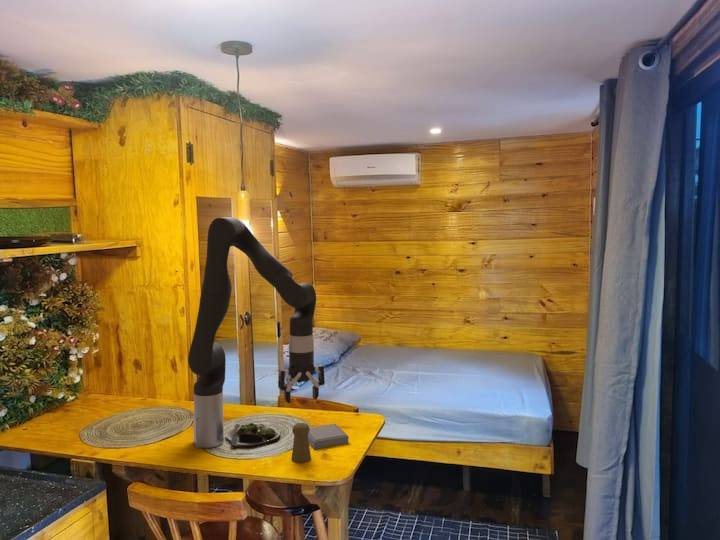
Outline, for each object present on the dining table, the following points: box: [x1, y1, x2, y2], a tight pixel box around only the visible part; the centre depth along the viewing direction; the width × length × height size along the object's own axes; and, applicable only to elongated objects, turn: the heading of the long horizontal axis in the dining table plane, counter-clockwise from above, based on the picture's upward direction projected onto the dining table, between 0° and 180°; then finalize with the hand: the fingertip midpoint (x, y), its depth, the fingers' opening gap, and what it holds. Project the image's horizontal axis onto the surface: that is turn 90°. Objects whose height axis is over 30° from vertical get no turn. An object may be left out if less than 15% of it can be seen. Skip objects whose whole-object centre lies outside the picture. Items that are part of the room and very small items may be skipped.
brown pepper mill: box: [291, 422, 312, 464], centre depth 168 cm, size 6×6×11 cm
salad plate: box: [225, 422, 281, 449], centre depth 186 cm, size 19×18×5 cm
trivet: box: [308, 423, 349, 450], centre depth 183 cm, size 12×12×3 cm
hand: (301, 400), depth 167 cm, fingers open, 8 cm apart
